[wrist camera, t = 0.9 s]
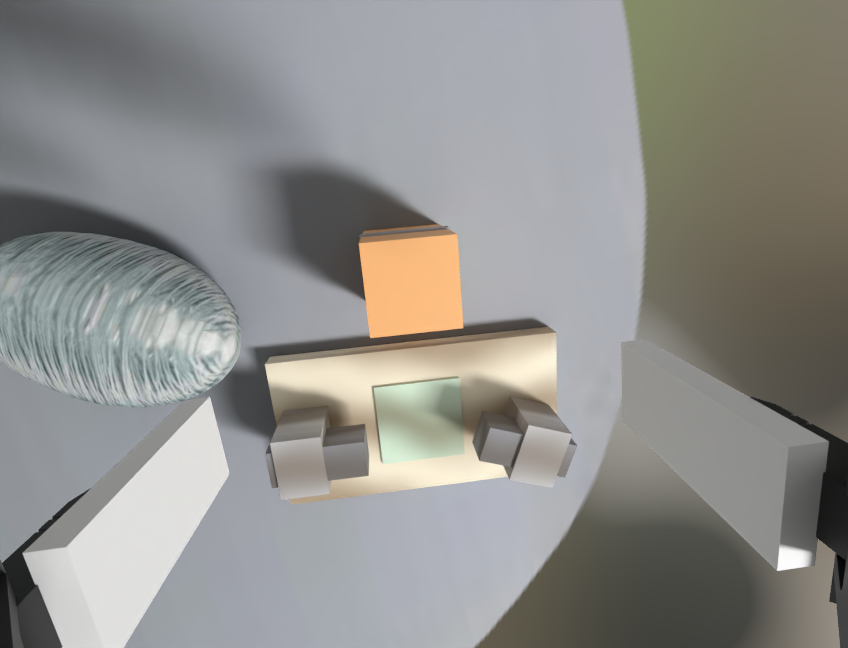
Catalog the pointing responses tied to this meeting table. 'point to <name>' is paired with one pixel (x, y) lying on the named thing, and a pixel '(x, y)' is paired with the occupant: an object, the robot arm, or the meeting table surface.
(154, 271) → the grey green yarn ball
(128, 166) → the meeting table surface
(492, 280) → the meeting table surface
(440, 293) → the block
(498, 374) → the coupling bench
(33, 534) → the robot arm
